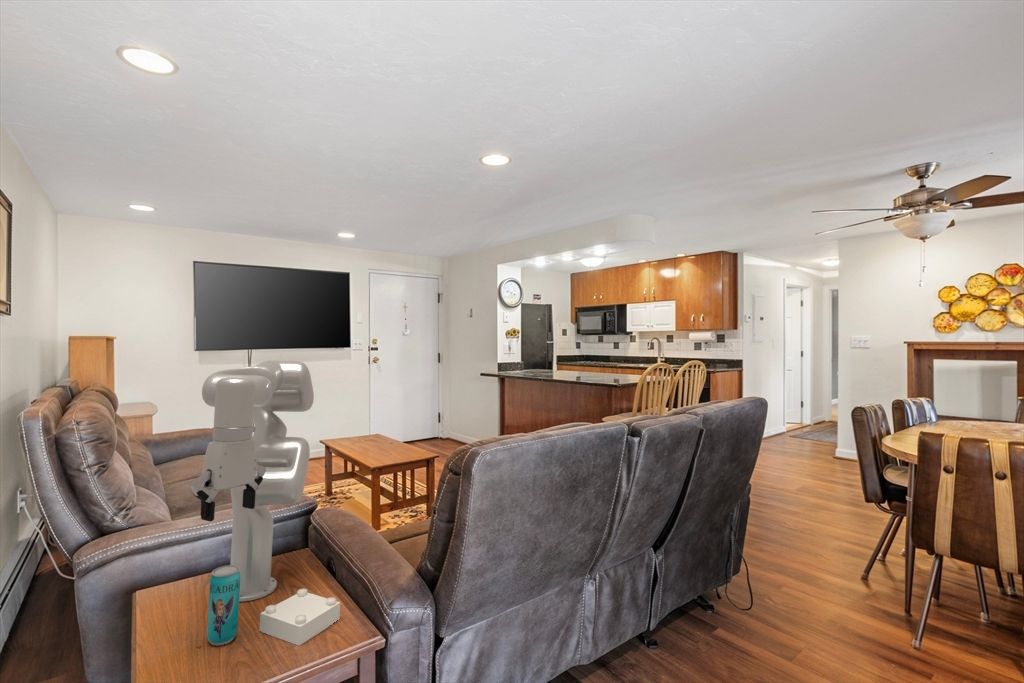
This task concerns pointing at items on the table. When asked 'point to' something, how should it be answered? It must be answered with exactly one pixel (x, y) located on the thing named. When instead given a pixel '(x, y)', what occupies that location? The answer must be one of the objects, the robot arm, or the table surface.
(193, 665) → the table surface
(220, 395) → the robot arm
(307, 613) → the brick
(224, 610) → the beverage can
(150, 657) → the table surface
